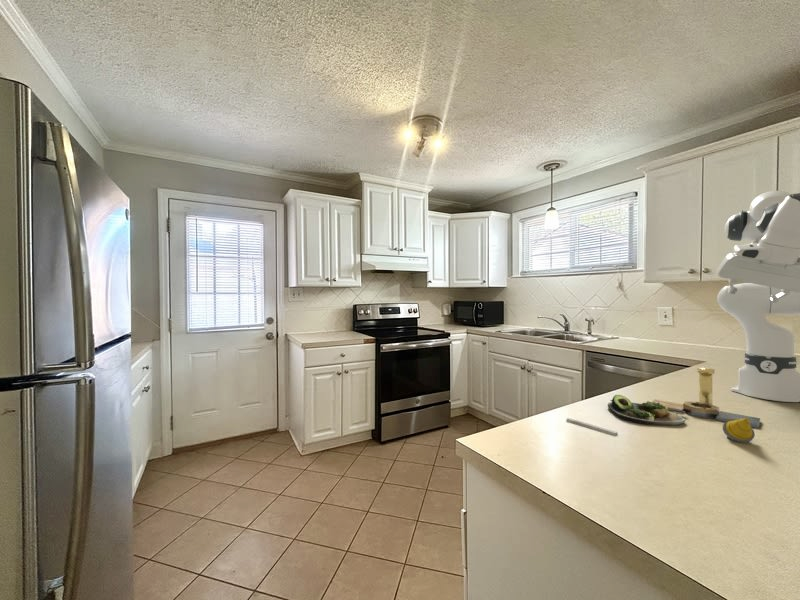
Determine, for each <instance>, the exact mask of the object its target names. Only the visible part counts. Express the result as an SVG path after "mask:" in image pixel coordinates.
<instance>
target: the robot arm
mask: <svg viewBox="0 0 800 600" xmlns="http://www.w3.org/2000/svg"><path fill="white" fill-rule="evenodd" d="M724 234H725V235H726V238H727V239H728V240H730V241H735V242H741V241H752V242H750V243H745V244H744V243H742V244H735V245H734V246H733V249H732V252H730V253H728V254H726V256H725V257H724V258H723V259H722V261H721V262H720V264H719V265H718V268H717V269H716V274H717V275H718V277H720V278H723V279H728V280H727V281H728V284H729V285H725V286H723V287H722V288H721V289H720V290H719V291H718V293H717V297H716V301H717V304H718V307H719V308H720V309H721V310H723V311H724V312H725V313H727V314H729V315H730V316H732V317H733V318H735V320H737V322H738V323H739V324H740V326H741V327H742V329H743V331H744V337H745V347H746V348H745V349H746V352H745V353H744V356H743V360H744V363H745V364H744V365H743V366H742V367H740V368H738V377H737V379H738V380H737V383H738V384H737V385H736V386H733V387H731V389H730V391H732V392H735V393H739V394H742V395H745V396H749V397H753V398H755V399H762V400H769V401H775V402H786V403H800V372H799V371H797V369H796V368H797V364H798V362H797V357H795V336H794V334H793V332H792V331H790V329H787V328H786V327H784V326H781V325H779V324H776V323H772V322H770V321H769V320H767V318H766V316H771V315H773V316H774V315H776V316H777V315H778V316H800V192H799V193H798V192H797V193H789V192H787V191H783V190H770V191H766V192H763V193H761V194H759V195H758V196H756V197H755V198H754V199H753V200H752V201H751V203H750V205H749V210H745V211H744V210H743V209H742V210H740V212H738V213H735V214H733V215H732V216H730V217H728V220H727V221H726V223H725V225H724ZM737 281H738V282H741V283H737ZM736 283H737V284H736Z"/></svg>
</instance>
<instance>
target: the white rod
mask: <svg viewBox="0 0 800 600" xmlns="http://www.w3.org/2000/svg"><path fill="white" fill-rule="evenodd" d="M566 422H568V423H571V424H574V425H578V426H582V427H585V428H588V429H591V430H595V431H597V432H602V433H604V434H608V435H611V436H618V431H615V430H611V429H608V428H604V427H601V426H598V425H594V424H591V423H588V422H584V421H581V420H578V419H573V418H570V417H567V418H566Z"/></svg>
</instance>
